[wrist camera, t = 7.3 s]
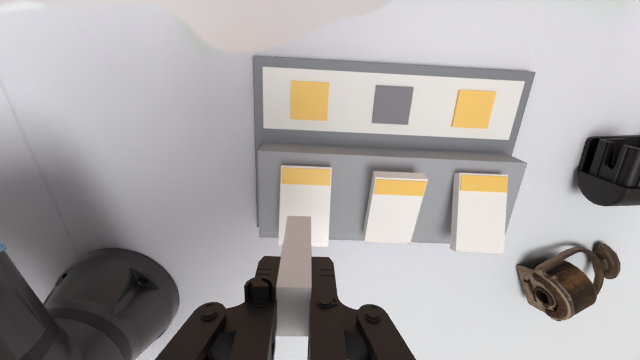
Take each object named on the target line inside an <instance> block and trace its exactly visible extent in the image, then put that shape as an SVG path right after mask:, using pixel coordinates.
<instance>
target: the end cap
mask: <svg viewBox="0 0 640 360" xmlns="http://www.w3.org/2000/svg"><path fill="white" fill-rule="evenodd" d="M578 184H579V187H580V190H581V192H582V194H583V195H584V196H585V197H586V198H587V199H588V200H589V201H591V202H592V203H594V204H597V205H600V206H628V205H640V135H638V136H600V137H589V138H588V139H587V140H586V142H585V146H584V149H583V153H582V156H581V159H580V163H579V166H578Z"/></svg>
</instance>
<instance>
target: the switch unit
mask: <svg viewBox="0 0 640 360" xmlns="http://www.w3.org/2000/svg"><path fill="white" fill-rule="evenodd" d="M253 76H254V117H255V158H256V199H257V227H259V234H260V237H272V238H279V212H280V183H281V165H291V166H314V167H332V176H331V198H330V219H329V239H331V240H361V241H364V238H363V230H364V224H365V218H366V212H367V206H368V200H369V194H370V188H371V182H372V176H373V171H383V172H407V173H424V174H425V176H426V177H427V179H428V181H427V185H426V189H425V192H424V196H423V199H422V203H421V207H420V210H419V214H418V217H417V221H416V225H415V228H414V232H413V235H412V239H411V242H419V243H449V244H450V243H451V223H452V203H453V184H454V173H475V174H498V175H508V186H507V203H506V222H505V233H506V230H507V227H508V224H509V220H510V217H511V214H512V211H513V207H514V204H515V201H516V198H517V194H518V191H519V188H520V185H521V181H522V178H523V175H524V172H525V168H526V165H527V163H526V162H524V161H521V160H519V159H517V158H514V157H512V153H513V149H514V146H515V142H516V139H517V135H518V132H519V128H520V125H521V121H522V118H523V114H524V111H525V107H526V104H527V100H528V97H529V93H530V90H531V86H532V83H533V79H534V76H535V72H528V71H511V70H493V69H476V68H458V67H441V66H423V65H406V64H388V63H371V62H353V61H336V60H319V59H301V58H284V57H266V56H253Z"/></svg>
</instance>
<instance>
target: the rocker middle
mask: <svg viewBox="0 0 640 360" xmlns="http://www.w3.org/2000/svg"><path fill="white" fill-rule="evenodd" d="M427 181H428V179H427V177H426V176H425V174H424V173H407V172H383V171H373V176H372V182H371V188H370V194H369V200H368V206H367V212H366V218H365V224H364V230H363V238H364V242H384V243H411V239H412V235H413V232H414V228H415V225H416V221H417V217H418V214H419V210H420V207H421V203H422V199H423V196H424V192H425V189H426V185H427Z"/></svg>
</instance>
